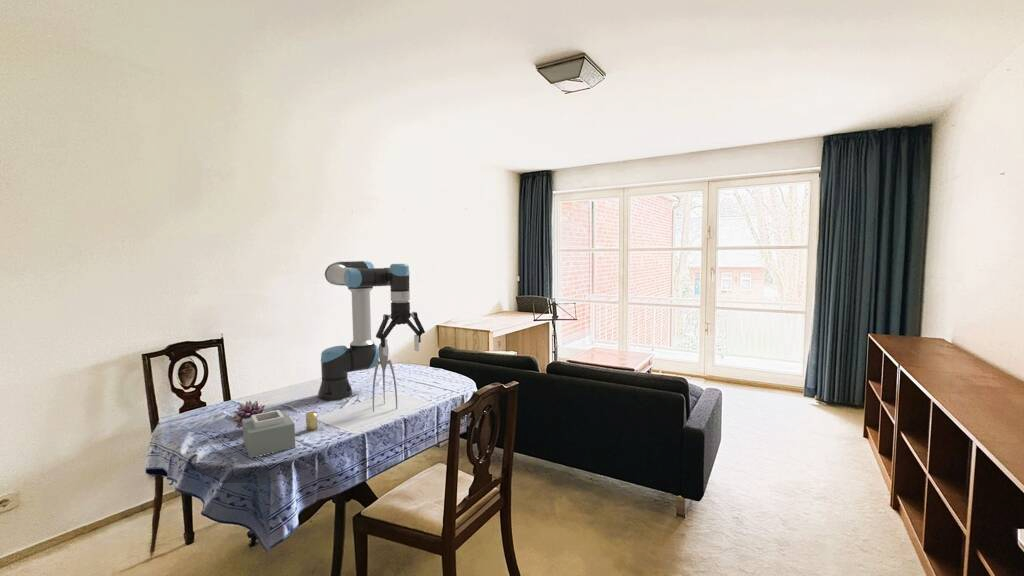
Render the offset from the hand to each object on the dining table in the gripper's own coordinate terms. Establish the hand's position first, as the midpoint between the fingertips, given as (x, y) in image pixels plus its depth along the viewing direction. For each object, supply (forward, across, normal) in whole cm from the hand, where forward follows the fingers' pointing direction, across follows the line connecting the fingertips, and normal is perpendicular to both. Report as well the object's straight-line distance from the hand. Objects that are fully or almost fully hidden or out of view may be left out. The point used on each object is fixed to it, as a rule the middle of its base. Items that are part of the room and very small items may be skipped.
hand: (401, 352), depth 185 cm
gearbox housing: (+28, -49, +4) cm, 56 cm away
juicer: (+28, 0, +16) cm, 32 cm away
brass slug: (+28, -33, +10) cm, 44 cm away
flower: (+28, -52, +23) cm, 64 cm away
